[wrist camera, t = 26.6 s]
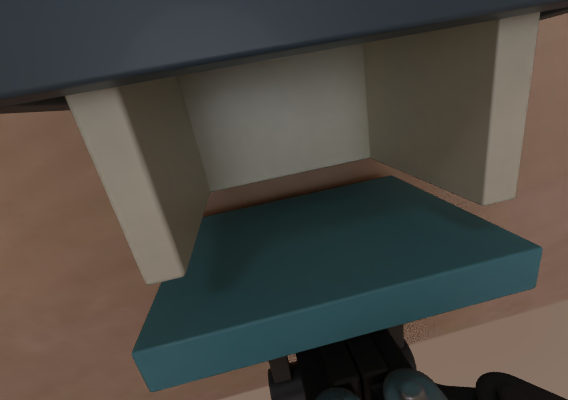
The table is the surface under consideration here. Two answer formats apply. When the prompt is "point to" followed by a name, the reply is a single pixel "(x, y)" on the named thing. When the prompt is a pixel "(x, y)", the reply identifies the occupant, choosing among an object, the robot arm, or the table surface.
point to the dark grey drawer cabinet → (199, 37)
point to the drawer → (316, 195)
